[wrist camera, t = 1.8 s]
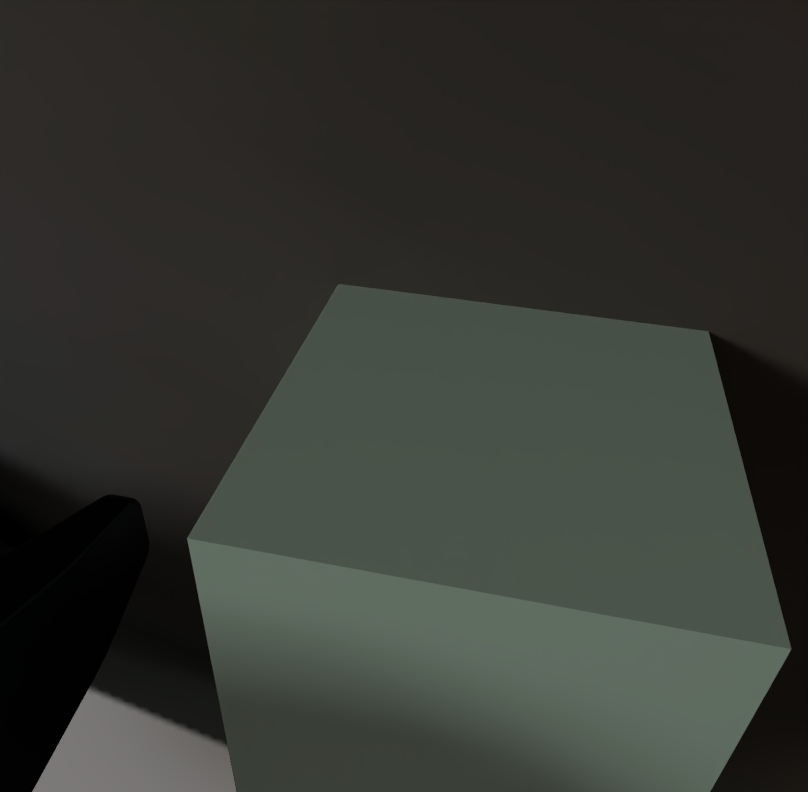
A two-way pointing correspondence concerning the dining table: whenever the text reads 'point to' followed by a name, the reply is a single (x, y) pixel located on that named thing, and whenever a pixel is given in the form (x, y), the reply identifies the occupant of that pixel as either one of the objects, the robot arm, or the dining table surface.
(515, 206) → the dining table surface
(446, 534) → the sage cube
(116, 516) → the robot arm
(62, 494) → the dining table surface
